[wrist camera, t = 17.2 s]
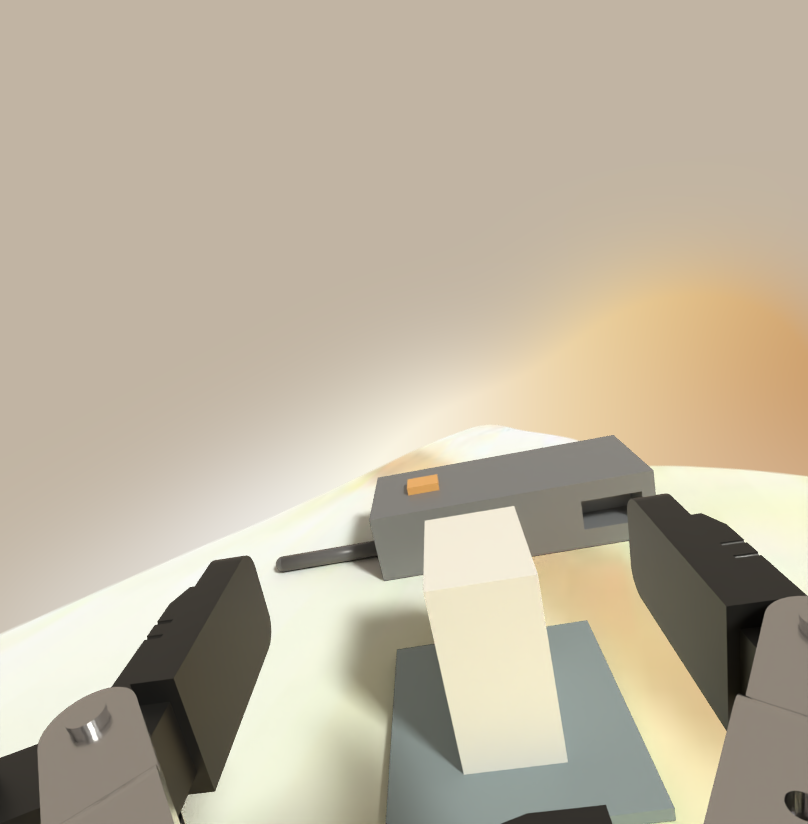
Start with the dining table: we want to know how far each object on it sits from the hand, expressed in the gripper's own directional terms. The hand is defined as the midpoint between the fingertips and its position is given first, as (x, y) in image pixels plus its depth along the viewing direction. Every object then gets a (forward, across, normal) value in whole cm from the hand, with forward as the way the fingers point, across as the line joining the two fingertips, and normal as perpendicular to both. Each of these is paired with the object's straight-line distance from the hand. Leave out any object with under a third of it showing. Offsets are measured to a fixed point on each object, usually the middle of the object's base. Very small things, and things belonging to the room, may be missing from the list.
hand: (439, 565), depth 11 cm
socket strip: (+29, 0, +16) cm, 33 cm away
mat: (+11, -1, +16) cm, 19 cm away
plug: (+12, -1, +15) cm, 19 cm away
